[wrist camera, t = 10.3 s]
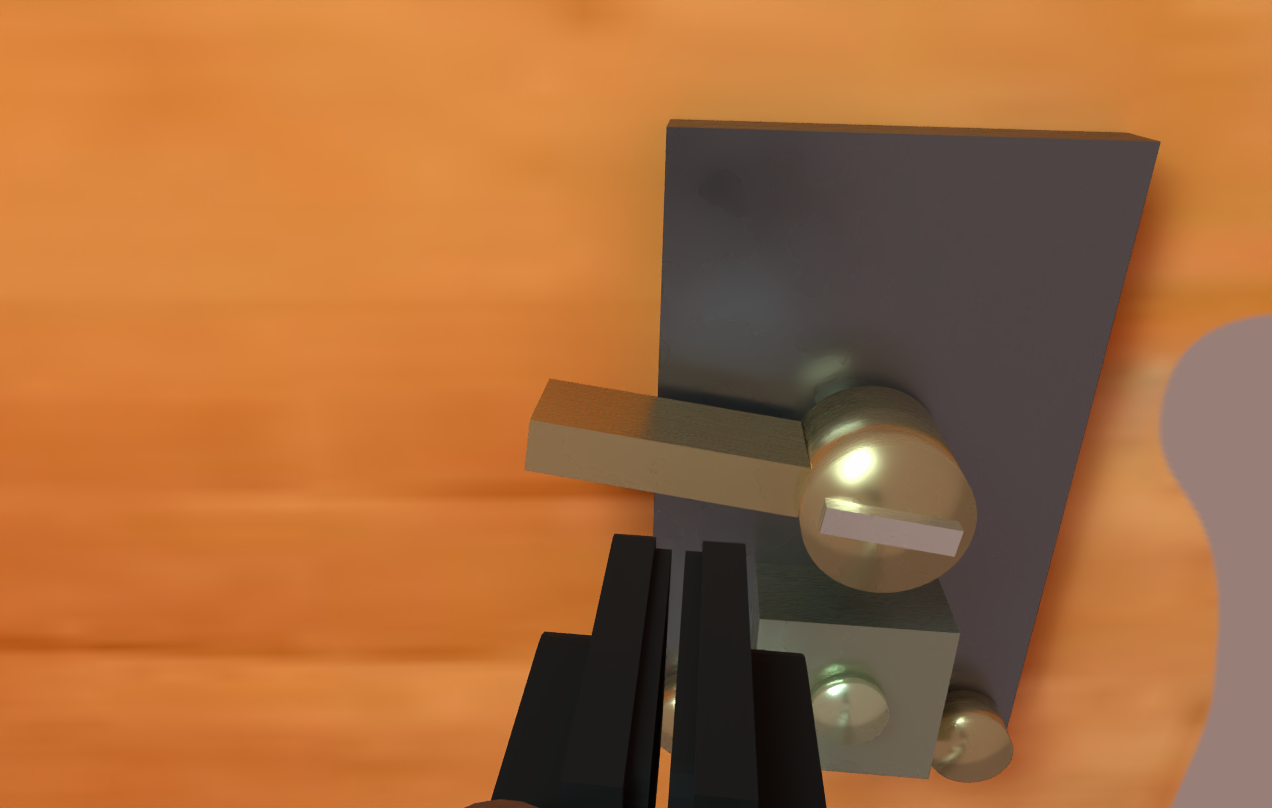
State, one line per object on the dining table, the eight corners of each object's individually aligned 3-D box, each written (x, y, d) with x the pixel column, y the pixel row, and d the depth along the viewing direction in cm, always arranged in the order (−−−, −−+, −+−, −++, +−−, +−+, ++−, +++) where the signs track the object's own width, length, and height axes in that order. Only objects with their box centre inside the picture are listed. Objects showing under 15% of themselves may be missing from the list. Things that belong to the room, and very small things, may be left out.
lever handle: (960, 399, 25) (1006, 471, 21) (916, 528, 27) (951, 617, 23) (555, 330, 26) (525, 389, 22) (540, 462, 28) (510, 539, 24)
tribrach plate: (982, 720, 33) (1030, 847, 28) (650, 694, 34) (638, 812, 29) (1127, 132, 24) (1236, 161, 19) (670, 119, 25) (658, 143, 20)
